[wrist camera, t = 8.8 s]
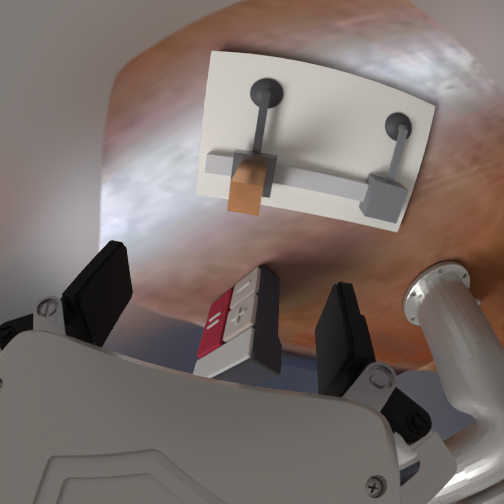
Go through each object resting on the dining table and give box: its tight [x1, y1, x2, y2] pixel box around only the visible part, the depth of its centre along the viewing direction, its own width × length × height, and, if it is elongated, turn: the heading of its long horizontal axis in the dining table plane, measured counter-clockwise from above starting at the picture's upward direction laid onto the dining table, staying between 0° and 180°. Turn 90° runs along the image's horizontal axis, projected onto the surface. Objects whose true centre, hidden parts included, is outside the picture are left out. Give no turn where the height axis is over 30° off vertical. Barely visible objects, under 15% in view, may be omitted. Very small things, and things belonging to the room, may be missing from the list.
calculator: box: [193, 266, 282, 386], centre depth 33 cm, size 11×4×15 cm, turn 137°
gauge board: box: [196, 51, 435, 232], centre depth 25 cm, size 24×16×4 cm, turn 82°
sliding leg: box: [227, 89, 277, 216], centre depth 22 cm, size 4×10×8 cm, turn 172°
